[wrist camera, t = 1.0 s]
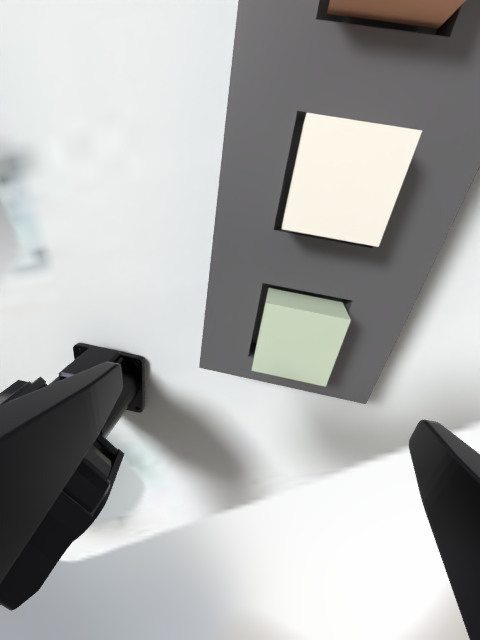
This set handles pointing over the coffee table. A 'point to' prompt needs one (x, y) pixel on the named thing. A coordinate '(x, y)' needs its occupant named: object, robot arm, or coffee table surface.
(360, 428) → the coffee table surface
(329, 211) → the ivory keycap
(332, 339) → the sage keycap
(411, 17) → the terracotta keycap
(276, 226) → the grey flat rectangular block
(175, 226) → the coffee table surface
